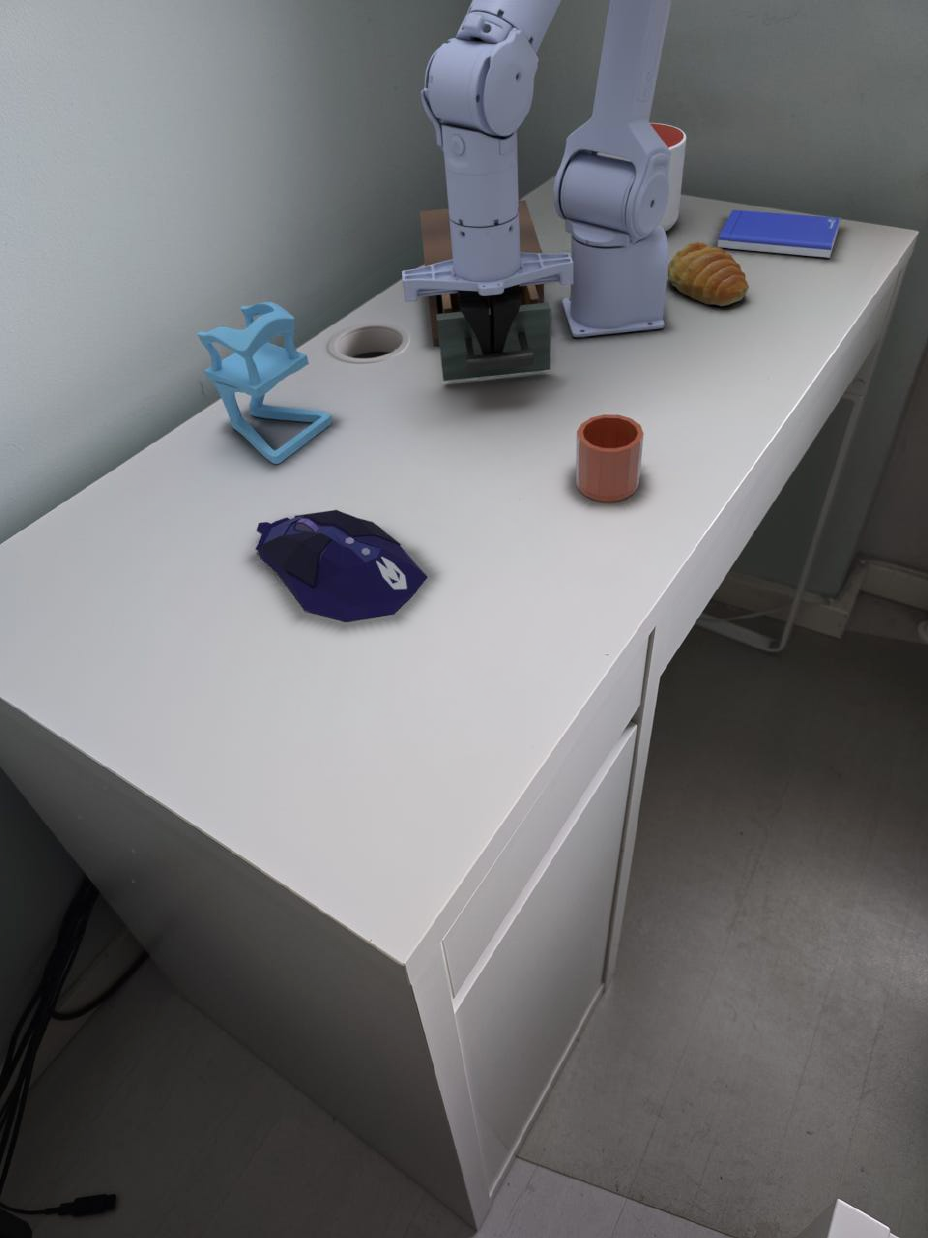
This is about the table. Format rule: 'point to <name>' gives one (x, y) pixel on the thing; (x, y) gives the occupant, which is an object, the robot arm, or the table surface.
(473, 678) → the table surface
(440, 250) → the cabinet
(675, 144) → the cup
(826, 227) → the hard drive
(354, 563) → the computer mouse
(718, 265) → the pastry
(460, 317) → the drawer
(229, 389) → the chair
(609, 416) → the small cup
